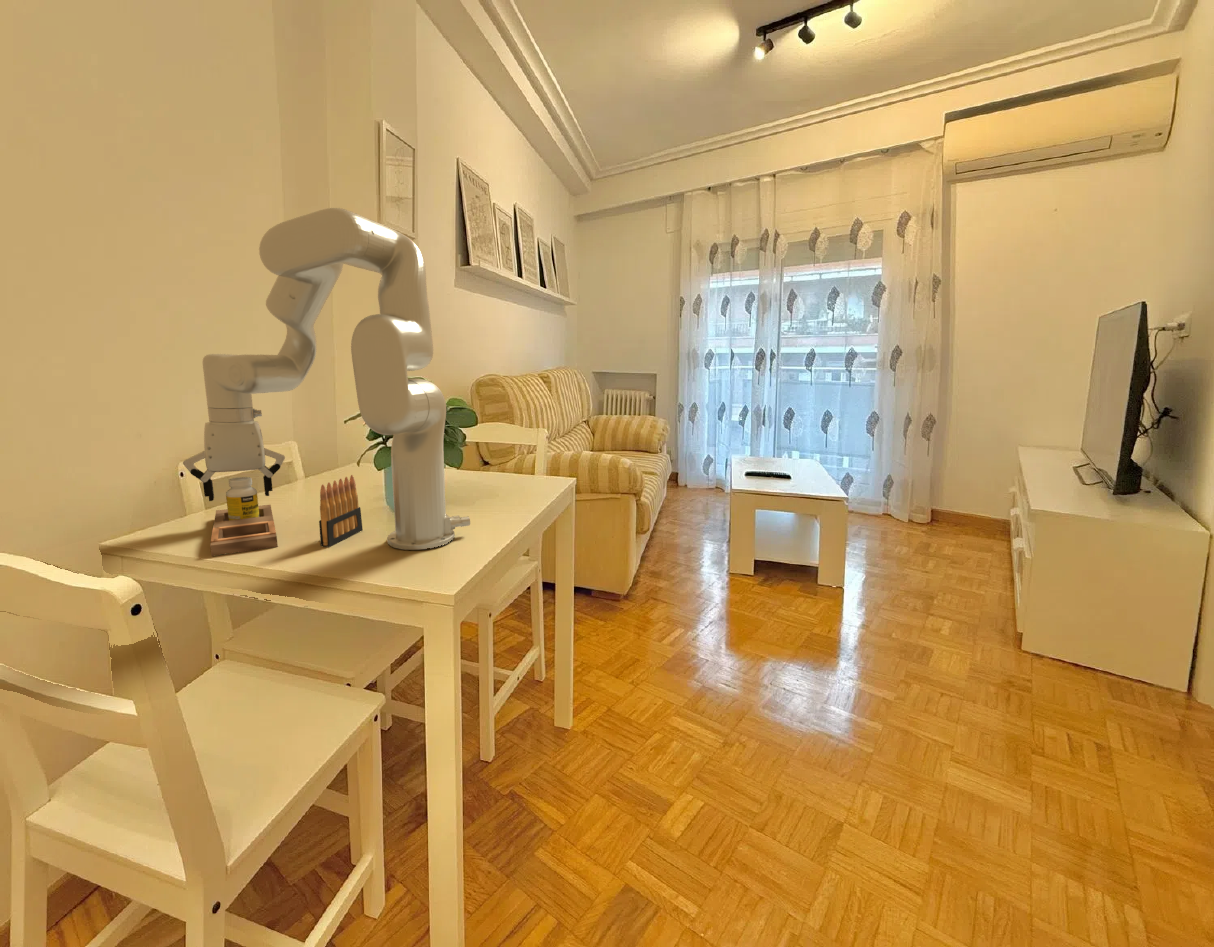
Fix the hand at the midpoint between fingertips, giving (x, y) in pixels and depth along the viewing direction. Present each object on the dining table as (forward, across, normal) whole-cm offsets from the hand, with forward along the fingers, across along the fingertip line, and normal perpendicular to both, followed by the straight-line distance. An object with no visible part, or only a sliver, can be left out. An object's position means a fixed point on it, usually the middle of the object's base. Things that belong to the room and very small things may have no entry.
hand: (240, 497), depth 111 cm
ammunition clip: (+6, -16, +20) cm, 27 cm away
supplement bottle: (+6, 0, 0) cm, 6 cm away
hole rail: (+6, 0, +7) cm, 9 cm away
